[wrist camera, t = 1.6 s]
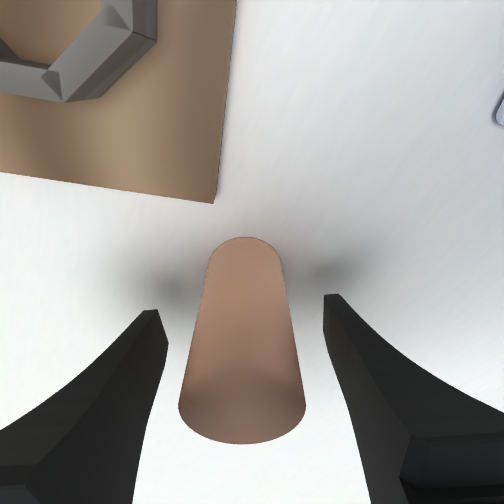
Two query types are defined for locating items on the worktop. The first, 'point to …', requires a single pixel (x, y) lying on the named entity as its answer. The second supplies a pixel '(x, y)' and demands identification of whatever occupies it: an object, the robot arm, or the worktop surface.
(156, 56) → the holder
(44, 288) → the worktop surface
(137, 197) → the worktop surface
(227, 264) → the peg
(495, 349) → the worktop surface
